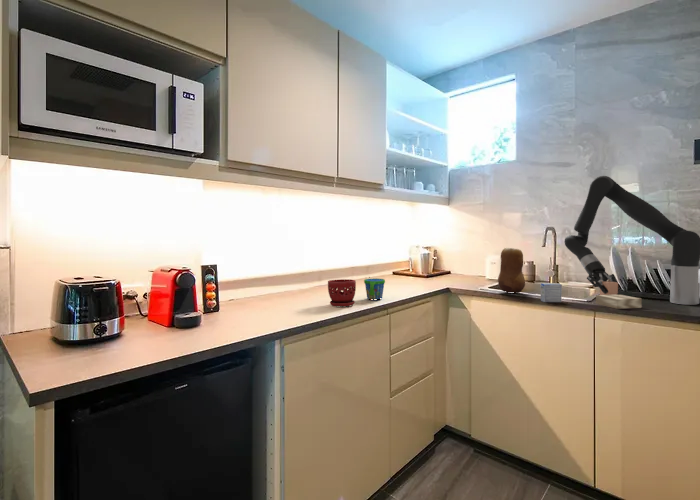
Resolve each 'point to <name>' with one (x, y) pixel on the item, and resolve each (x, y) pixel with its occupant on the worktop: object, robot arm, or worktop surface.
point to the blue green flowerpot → (374, 288)
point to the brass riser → (619, 301)
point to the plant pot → (345, 296)
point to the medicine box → (551, 292)
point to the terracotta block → (610, 288)
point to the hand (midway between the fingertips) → (611, 292)
